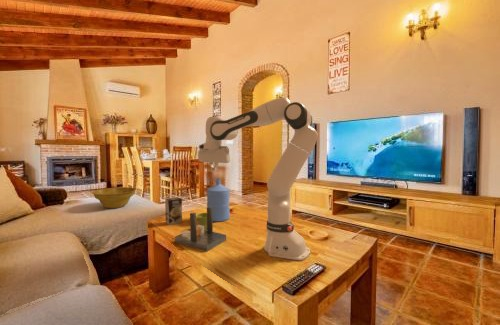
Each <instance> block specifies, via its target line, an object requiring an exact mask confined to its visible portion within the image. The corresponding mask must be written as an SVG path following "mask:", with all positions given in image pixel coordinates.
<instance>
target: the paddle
mask: <svg viewBox="0 0 500 325" xmlns="http://www.w3.org/2000/svg"><path fill="white" fill-rule="evenodd" d="M196 232H197V236H198V235H200V234H201V229H199V228H196Z"/></svg>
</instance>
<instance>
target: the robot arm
mask: <svg viewBox="0 0 500 325" xmlns="http://www.w3.org/2000/svg"><path fill="white" fill-rule="evenodd" d="M282 120H285V122H286V123H287V124H288V125H289V126H290V127H291V128H292V129H293V130H294V134H293V136H292V138H291V140H290V141H289V143H288V145H287V146H286V148H285V150H284V152H283V153H282V155H281V157H280V158H279V159H278V162H277V163H276V165H275V167H274V169H273V170H272V172H271V173H270V175H269V177H268V179H267V182H266V187H267V189H268V190H267V191H268V192H267V193H268V195H267V196H268V197H267V198H268V199H267V220H266V238H265V239H266V240H265V244H264V246H263V248H264V249H263V250H264V251H265V252H267V254H268V256H269V257H273V258H279V259H280V258H282V259H288V260H292V261H294V260H295V261H304V260H307V258H308V257H309V256H310V255H311V248H309V247H308V246H306V240H305V239H304V237H303V236H302V235H301V234H299V233H298V232H297V231H296V230H295V229H294V228H295V225H296V224H295V223H292V222H291V221H292V220H291V189H292V187H293V184H294V183H295V181H296V179H297V177H298V175H299V174H300V172H301V169H302V168H303V166H304V165H305V163H306V161H307V160H308V158H309V156H310V155H311V153H312V151H313V149H314V147H315V145H316V144H317V140H318V138H319V133H318V132H317V130H316V128H313V127H312V124H313V116H312V115H311V113H310V110H309V109H308V108H307V106H305V105H304V104H303V103H301V102H295V101H294V102H291V101H290V99H289V98H288V97H285V96H282V97H278V98H274V99H271V100H269V101H266V102H263V103H262V104H260V105H258V106H256V107H255V108H252V109H251V110H249V111H246V112H245V113H241V114H239V115H236V116H233V117H231V118H229V119H226V120H225V119H224V118H223V119H222V118H221V117H220V116H217V115H216V116H210V117H208V118H207V119H206V121H205V136H206V137H205V142H204V143H201V144H198V149H199V150H198V152H197V153H198V154H197V157H198V158H197V159H198V162H199V163H200V162H201V163H202V162H203V163H208V165H209V167H210V170H211V171H217V170H218V167H219V163H220V164H229V163H230V161H231V157H230V156H231V155H230V148H229V147H228V146H226V145H224V146H223V145H222V141H232V140H234V139H236V138H237V136H238V133H239V130H240V129H243V128H246V127H265V126H270V125H273V124H275V123H277V122H279V121H282ZM309 254H310V255H309Z"/></svg>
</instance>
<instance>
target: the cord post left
mask: <svg viewBox="0 0 500 325" xmlns="http://www.w3.org/2000/svg"><path fill="white" fill-rule="evenodd" d="M196 215H197V213H196V212H191V213H189V229H190V234H191V241H196V240H197V232H196V226H197V216H196Z"/></svg>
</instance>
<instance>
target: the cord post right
mask: <svg viewBox="0 0 500 325" xmlns="http://www.w3.org/2000/svg"><path fill="white" fill-rule="evenodd" d="M206 213H207V233H212V232H214V231H213V223H214V221H213V220H212V207H207V206H206Z"/></svg>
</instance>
